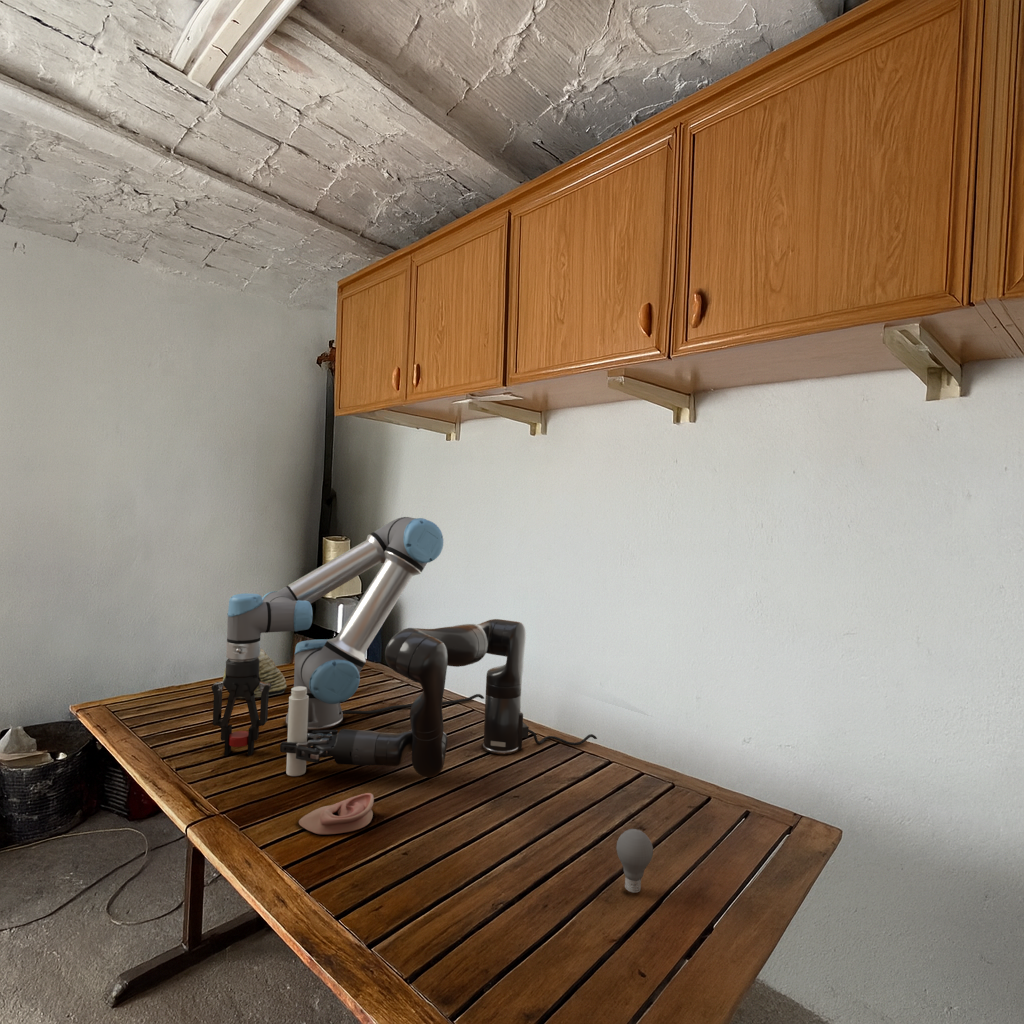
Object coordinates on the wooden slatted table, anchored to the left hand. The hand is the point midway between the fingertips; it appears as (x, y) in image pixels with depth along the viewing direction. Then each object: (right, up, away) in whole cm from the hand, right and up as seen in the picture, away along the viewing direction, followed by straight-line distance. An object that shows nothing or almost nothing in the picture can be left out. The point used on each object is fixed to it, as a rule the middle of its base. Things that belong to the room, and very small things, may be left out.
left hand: (239, 753), depth 154 cm
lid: (0, +4, 0) cm, 4 cm away
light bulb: (+87, -5, -48) cm, 99 cm away
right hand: (+15, +6, -9) cm, 18 cm away
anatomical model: (+32, -2, -30) cm, 44 cm away
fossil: (-14, +1, +44) cm, 46 cm away
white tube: (+17, -1, -9) cm, 19 cm away
